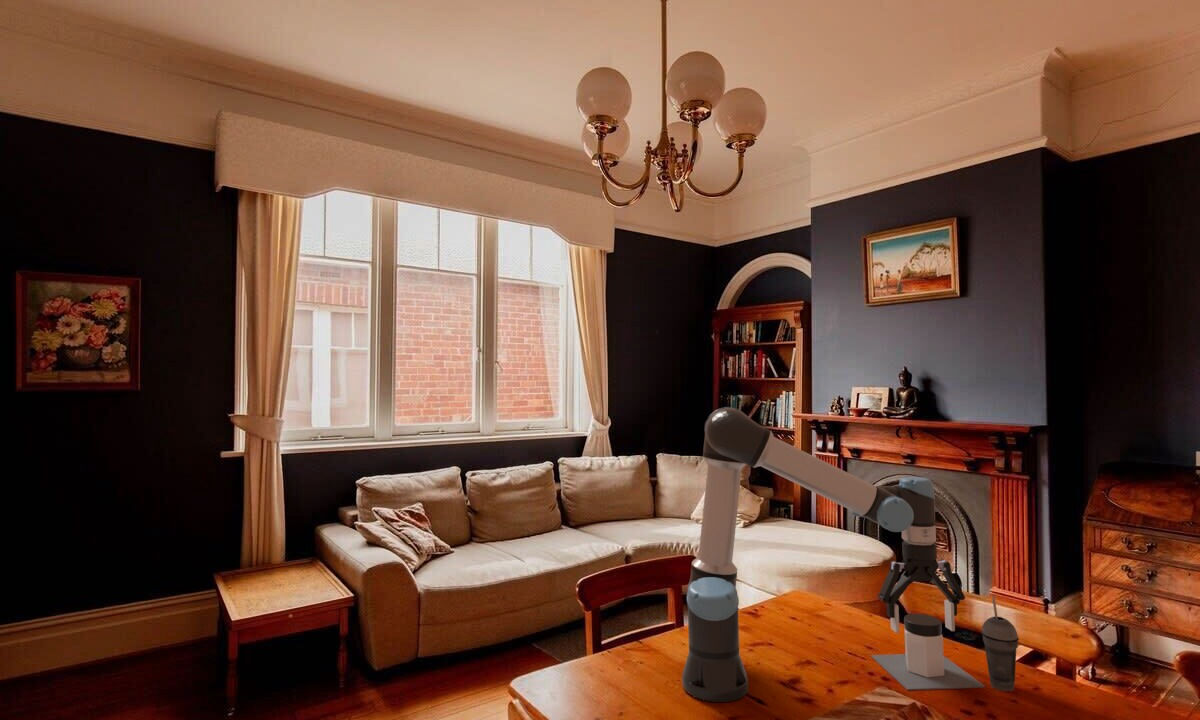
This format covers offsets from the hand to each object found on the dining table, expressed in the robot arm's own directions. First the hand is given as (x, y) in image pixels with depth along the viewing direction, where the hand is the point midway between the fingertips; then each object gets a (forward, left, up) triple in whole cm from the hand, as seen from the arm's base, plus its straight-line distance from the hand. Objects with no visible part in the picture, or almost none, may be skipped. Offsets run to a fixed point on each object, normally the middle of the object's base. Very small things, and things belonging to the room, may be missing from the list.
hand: (922, 630), depth 152 cm
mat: (0, 0, -10) cm, 10 cm away
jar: (0, 0, -10) cm, 10 cm away
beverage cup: (+13, -9, -10) cm, 19 cm away
